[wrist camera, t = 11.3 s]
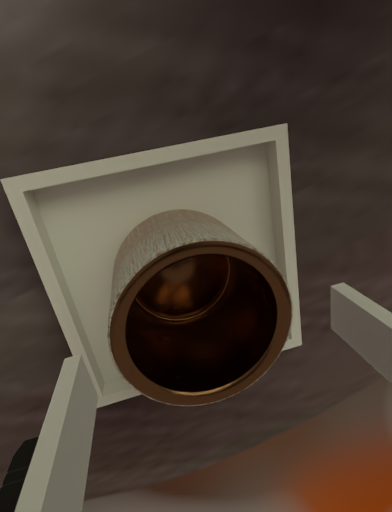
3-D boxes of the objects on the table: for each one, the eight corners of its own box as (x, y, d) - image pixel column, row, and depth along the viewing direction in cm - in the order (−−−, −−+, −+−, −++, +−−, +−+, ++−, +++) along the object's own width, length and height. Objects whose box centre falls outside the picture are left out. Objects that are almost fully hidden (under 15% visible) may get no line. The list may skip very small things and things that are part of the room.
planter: (105, 212, 22) (90, 247, 14) (239, 202, 25) (302, 227, 16) (121, 334, 26) (118, 425, 17) (238, 317, 28) (289, 390, 19)
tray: (13, 177, 21) (0, 179, 19) (272, 126, 24) (287, 122, 21) (97, 388, 28) (94, 408, 26) (289, 331, 31) (302, 344, 29)
